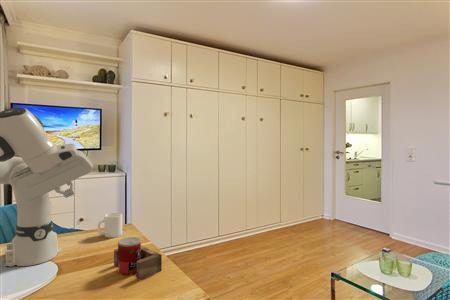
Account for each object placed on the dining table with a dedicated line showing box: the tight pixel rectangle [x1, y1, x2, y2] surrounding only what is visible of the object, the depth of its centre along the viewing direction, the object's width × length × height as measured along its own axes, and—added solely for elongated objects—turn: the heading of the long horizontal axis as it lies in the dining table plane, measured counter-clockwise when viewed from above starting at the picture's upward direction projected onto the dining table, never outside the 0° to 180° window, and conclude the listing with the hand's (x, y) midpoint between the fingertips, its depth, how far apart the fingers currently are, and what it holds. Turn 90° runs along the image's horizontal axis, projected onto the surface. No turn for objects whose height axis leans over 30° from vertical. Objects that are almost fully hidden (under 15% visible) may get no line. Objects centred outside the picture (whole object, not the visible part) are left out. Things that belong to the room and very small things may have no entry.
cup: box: [97, 212, 123, 239], centre depth 135 cm, size 8×12×10 cm
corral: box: [113, 245, 163, 281], centre depth 102 cm, size 17×9×6 cm, turn 51°
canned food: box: [117, 236, 142, 276], centre depth 100 cm, size 8×8×11 cm
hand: (70, 194), depth 87 cm, fingers closed
